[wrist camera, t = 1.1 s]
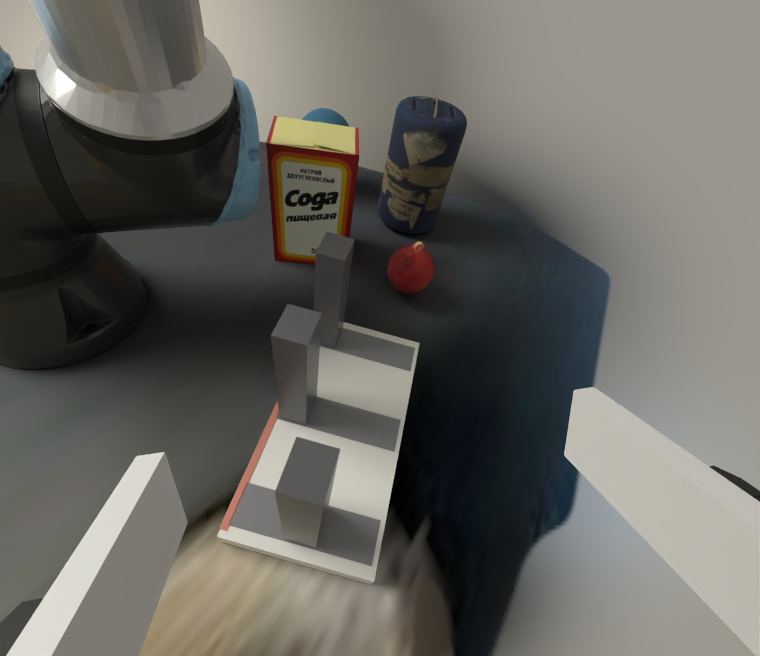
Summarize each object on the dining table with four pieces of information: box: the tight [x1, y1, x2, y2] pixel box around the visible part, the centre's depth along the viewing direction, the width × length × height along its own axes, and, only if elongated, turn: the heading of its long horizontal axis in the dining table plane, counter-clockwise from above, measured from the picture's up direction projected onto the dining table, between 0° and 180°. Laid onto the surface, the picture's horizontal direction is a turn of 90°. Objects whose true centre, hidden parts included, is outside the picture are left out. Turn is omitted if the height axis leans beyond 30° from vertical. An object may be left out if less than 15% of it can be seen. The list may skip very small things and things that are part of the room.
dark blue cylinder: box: [378, 96, 467, 234], centre depth 53 cm, size 10×10×18 cm
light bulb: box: [302, 108, 349, 127], centre depth 58 cm, size 8×8×12 cm
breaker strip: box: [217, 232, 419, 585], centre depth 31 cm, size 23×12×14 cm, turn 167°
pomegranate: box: [387, 241, 434, 293], centre depth 47 cm, size 6×6×8 cm
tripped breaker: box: [275, 437, 340, 548], centre depth 24 cm, size 3×2×12 cm
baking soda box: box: [266, 116, 359, 264], centre depth 46 cm, size 10×6×16 cm
